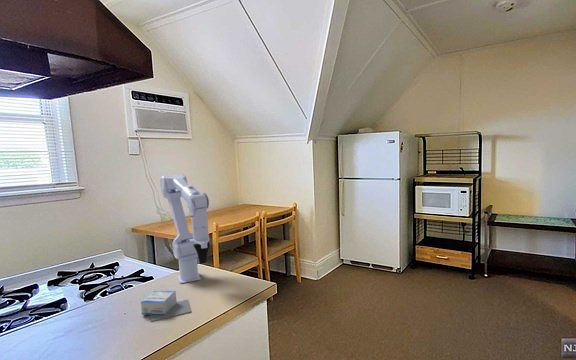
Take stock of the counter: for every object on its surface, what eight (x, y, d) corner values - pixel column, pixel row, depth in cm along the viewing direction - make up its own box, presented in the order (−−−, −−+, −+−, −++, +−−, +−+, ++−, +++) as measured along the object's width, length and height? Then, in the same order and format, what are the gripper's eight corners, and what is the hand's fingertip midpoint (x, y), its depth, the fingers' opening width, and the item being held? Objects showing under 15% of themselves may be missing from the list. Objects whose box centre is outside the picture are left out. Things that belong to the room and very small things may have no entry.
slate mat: (150, 308, 109) (150, 307, 109) (187, 300, 114) (187, 299, 114) (150, 321, 100) (150, 320, 100) (191, 312, 105) (191, 311, 105)
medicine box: (176, 290, 112) (163, 301, 103) (177, 302, 112) (165, 315, 103) (154, 290, 113) (140, 301, 104) (155, 303, 113) (141, 315, 104)
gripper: (186, 224, 126) (189, 259, 127) (191, 232, 112) (194, 270, 113) (205, 222, 128) (208, 256, 129) (211, 229, 115) (214, 266, 116)
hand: (203, 262), depth 122 cm, fingers closed
